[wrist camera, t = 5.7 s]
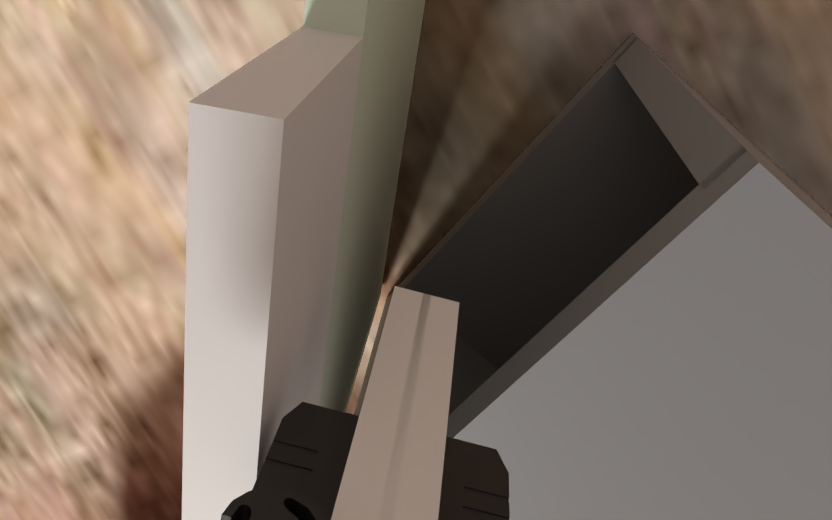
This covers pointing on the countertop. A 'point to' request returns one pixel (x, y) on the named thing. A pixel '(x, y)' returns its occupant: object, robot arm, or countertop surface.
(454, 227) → the box
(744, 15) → the countertop surface
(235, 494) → the side door
